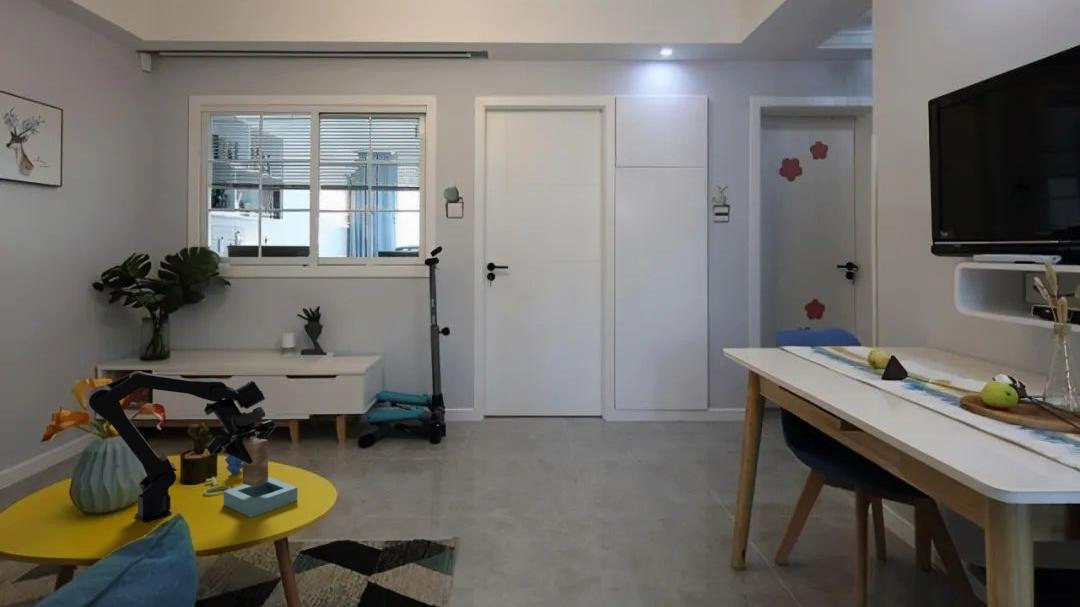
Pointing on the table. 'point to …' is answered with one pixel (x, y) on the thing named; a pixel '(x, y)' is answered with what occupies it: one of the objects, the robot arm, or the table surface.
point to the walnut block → (256, 462)
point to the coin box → (260, 497)
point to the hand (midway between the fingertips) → (258, 460)
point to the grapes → (233, 464)
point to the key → (214, 487)
